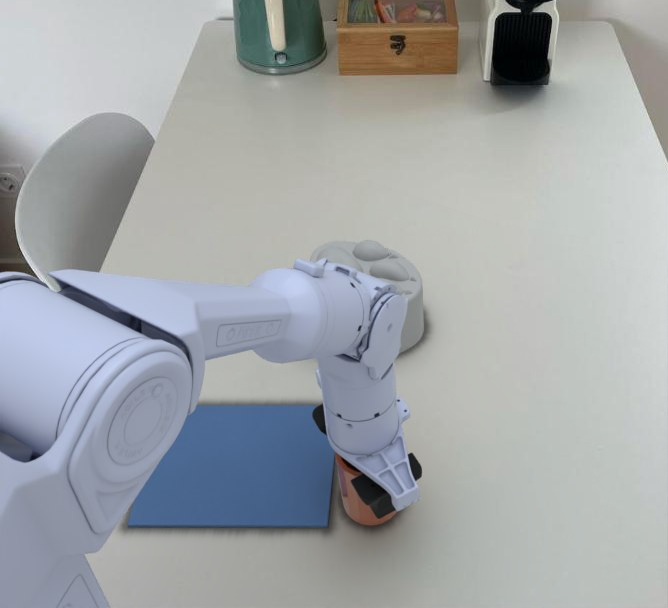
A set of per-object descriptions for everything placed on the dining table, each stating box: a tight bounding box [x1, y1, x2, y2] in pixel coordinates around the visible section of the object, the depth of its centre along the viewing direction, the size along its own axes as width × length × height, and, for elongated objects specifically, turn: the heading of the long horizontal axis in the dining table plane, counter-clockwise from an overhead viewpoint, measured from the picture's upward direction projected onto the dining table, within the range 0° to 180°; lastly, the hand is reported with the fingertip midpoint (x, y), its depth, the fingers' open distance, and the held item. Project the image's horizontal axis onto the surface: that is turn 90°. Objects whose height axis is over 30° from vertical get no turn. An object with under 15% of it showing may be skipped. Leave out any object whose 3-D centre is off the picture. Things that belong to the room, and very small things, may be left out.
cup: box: [335, 452, 398, 526], centre depth 71 cm, size 5×5×8 cm
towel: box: [126, 404, 336, 529], centre depth 77 cm, size 18×13×1 cm
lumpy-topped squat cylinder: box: [309, 239, 425, 354], centre depth 87 cm, size 10×13×9 cm
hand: (370, 485), depth 72 cm, fingers closed on cup, 5 cm apart
